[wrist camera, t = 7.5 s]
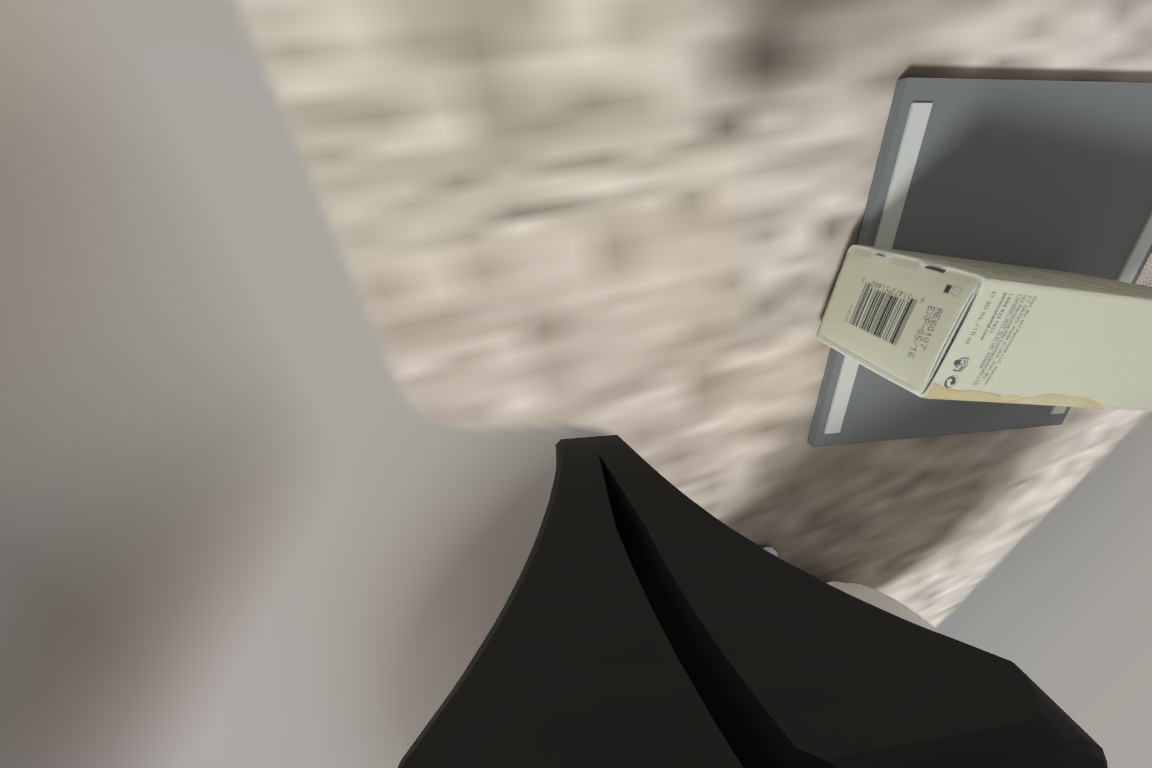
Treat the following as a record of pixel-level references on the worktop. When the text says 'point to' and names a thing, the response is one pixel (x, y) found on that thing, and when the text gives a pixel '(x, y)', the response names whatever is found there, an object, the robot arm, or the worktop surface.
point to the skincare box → (992, 330)
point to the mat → (997, 217)
